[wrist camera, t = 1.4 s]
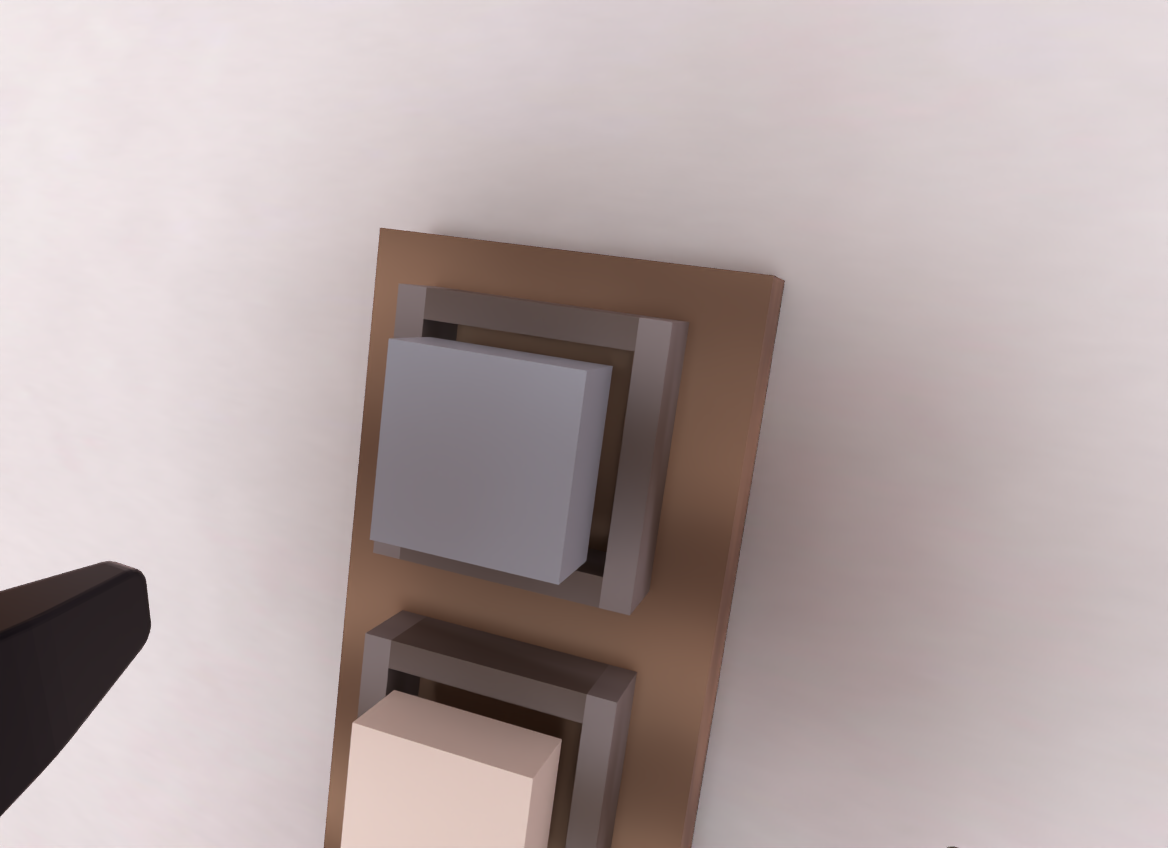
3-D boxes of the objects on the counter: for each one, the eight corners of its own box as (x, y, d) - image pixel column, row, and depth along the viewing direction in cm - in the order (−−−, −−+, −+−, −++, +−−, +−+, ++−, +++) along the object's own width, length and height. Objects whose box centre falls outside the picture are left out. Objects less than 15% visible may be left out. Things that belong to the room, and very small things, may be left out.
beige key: (538, 908, 23) (508, 962, 21) (377, 851, 24) (335, 896, 22) (562, 739, 22) (533, 778, 20) (394, 689, 23) (352, 722, 21)
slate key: (586, 561, 21) (558, 584, 19) (411, 521, 23) (369, 539, 21) (612, 366, 20) (586, 370, 18) (430, 336, 22) (388, 338, 20)
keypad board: (638, 1163, 29) (593, 1329, 24) (350, 1038, 32) (260, 1164, 27) (784, 280, 24) (764, 270, 19) (430, 237, 27) (339, 219, 23)
